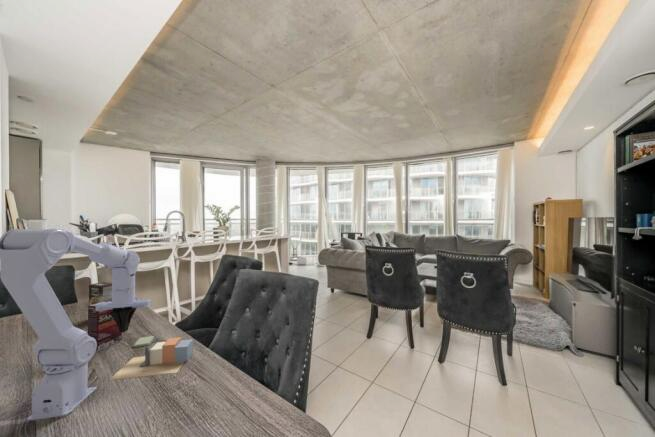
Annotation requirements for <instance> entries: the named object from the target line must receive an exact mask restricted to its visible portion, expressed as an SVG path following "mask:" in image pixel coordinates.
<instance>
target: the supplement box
mask: <svg viewBox="0 0 655 437" xmlns="http://www.w3.org/2000/svg"><path fill="white" fill-rule="evenodd" d="M105 302H112V299H111V300H108V301H104V302H100V303H105ZM97 304H99V303H97ZM97 304H93V305H89V304H88V305H87V331H86V332H87V334H88V335H89V336H90V337H92V338H94V339H95V340H96V342H97V348H96V351H95V353H94V354H96V353H98V352H100V351H102V350H103V349H105V348H108V347H109V346H113V345H114V344H116V343H119V342H120V341H122V339H123V338H122V337H123V336H122V335H123V332H121V333H120V332H119V329H118V326H117V324H116V322H115V320H114V319H113V318H112V316H111V315H110V312H112V310H113V309H108V310H100V311H96V305H97Z"/></svg>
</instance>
